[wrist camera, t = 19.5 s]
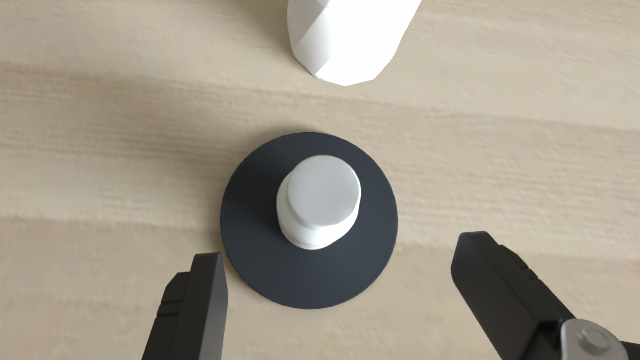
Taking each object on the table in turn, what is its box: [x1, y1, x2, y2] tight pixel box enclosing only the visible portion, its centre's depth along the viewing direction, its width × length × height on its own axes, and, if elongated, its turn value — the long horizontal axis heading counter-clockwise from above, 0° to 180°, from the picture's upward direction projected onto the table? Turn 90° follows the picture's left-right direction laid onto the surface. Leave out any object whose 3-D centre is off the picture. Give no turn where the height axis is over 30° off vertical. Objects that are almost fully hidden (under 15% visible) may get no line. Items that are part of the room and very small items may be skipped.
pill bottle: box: [277, 155, 361, 249], centre depth 19 cm, size 4×4×8 cm
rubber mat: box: [220, 132, 398, 309], centre depth 23 cm, size 12×12×1 cm
